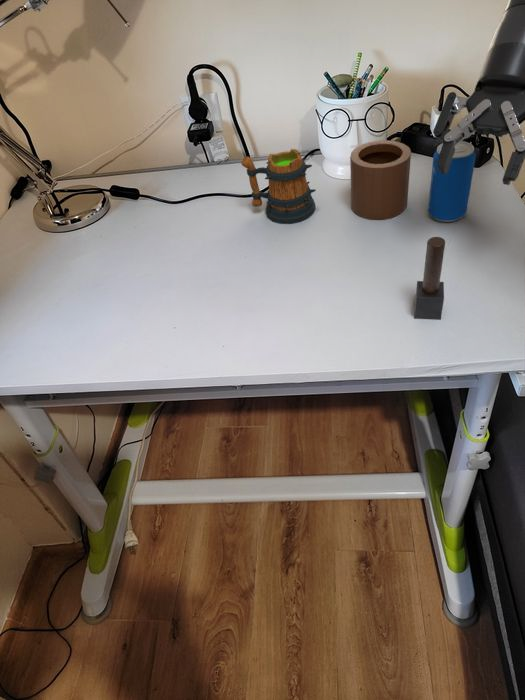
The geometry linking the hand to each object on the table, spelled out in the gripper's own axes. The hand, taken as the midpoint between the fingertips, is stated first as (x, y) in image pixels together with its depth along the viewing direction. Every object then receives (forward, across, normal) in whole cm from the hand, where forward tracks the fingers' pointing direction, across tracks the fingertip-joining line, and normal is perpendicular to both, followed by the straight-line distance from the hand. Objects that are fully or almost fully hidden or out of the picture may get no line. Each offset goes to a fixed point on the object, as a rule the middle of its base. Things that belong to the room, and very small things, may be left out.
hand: (473, 177), depth 69 cm
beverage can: (+1, -7, +20) cm, 21 cm away
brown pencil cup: (+2, -19, +19) cm, 27 cm away
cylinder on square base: (+19, 0, +2) cm, 19 cm away
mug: (+8, -35, +13) cm, 38 cm away
